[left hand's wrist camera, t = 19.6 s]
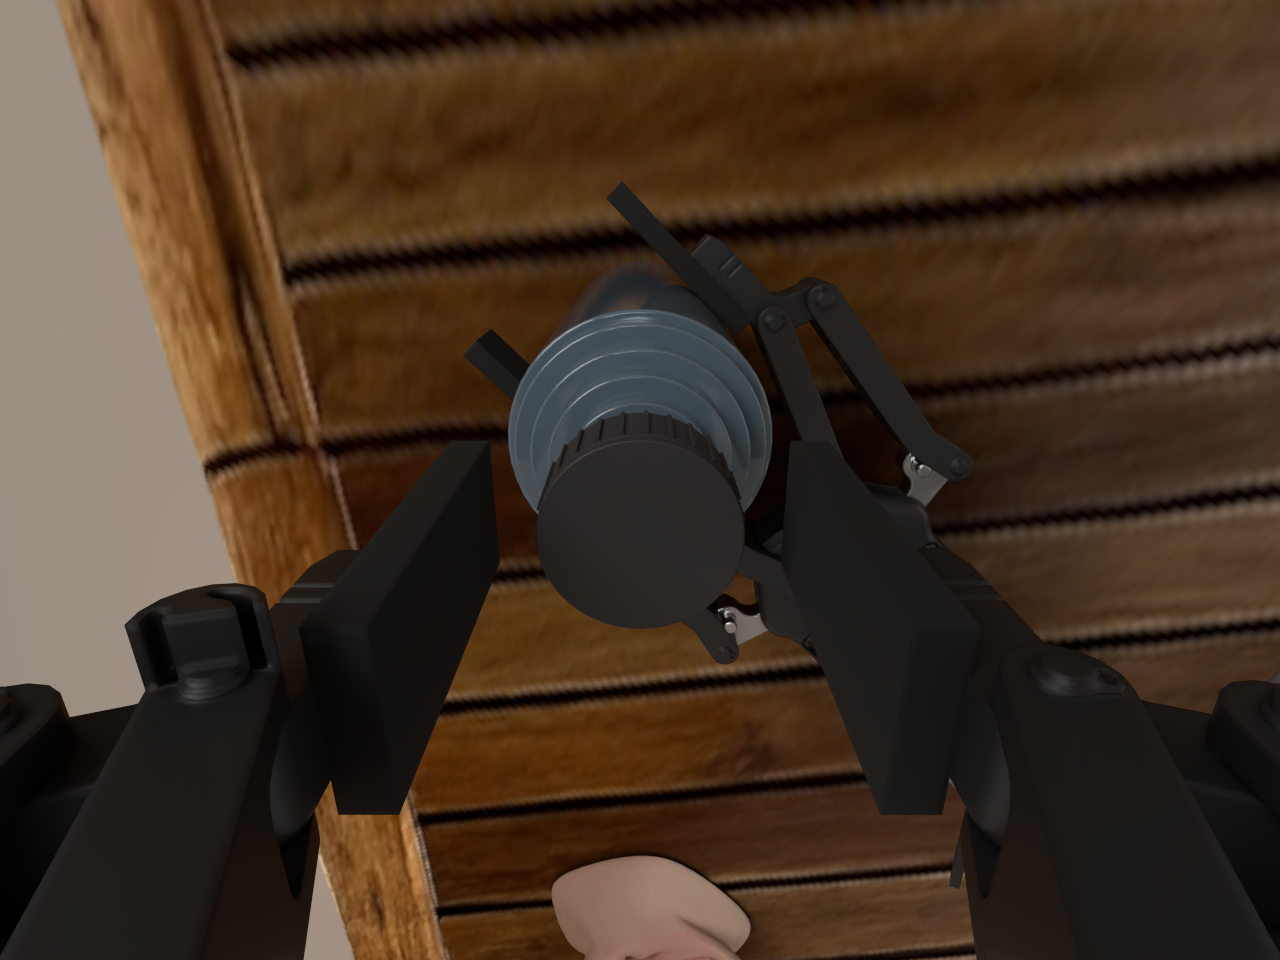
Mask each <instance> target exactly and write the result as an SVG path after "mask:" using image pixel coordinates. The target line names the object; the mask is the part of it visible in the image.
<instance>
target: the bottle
mask: <svg viewBox="0 0 1280 960" xmlns="http://www.w3.org/2000/svg"><path fill="white" fill-rule="evenodd" d="M644 410H648V413H653V414H659V415H664V416H667V414H670V415H671V416H672V418H675V419H677V420H679V421H681V422H684V423H686V424H688V423H691V424H692V425H693V428H694V429H696V430H697V431H699V432H700V433H701V434H702V435H704V436H705V437H706V436H707V435H708V436H709V437H710V438H711V442H712V444H713V445H714V446H715V448H716V449H717V450H718V452H719V453H721V452H723V454H724V456H725V459H726V462H727V465H728V468H729V471H732V472H733V475H734V478H735V481H736V484H737V487H738V490H739V492H740V495H741V498H742V499H740V503H741V506H742V509H743V512H745V511H746V510H747V508H748V507H749V506H750V504H751V503H752V502H753V500H754V498H755V497H756V495H757V493H758V491H759V489H760V488H761V485H762V483H763V480H764V478H765V475H766V473H767V469H768V465H769V462H770V458H771V450H772V442H773V435H772V419H771V413H770V407H769V404H768V401H767V397H766V394H765V391H764V389H763V387H762V385H761V382H760V380H759V378H758V376H757V374H756V373H755V371H754V370H753V368H752V367H751V365H750V364H749V362H748V361H747V359H746V358H745V356H744V355H743V354H742V352H741V351H740V349H739V348H738V347H737V345H736V344H735V342H734V341H733V340H732V338H731V337H730V335H729V334H728V333H727V331H726V330H725V328H724V327H723V326H722V324H721V323H720V321H719V320H718V319H717V317H716V316H715V314H714V313H713V312H712V311H711V310H710V309H709V307H708V306H707V305H706V304H705V303H704V302H703V301H702V300H701V299H700V298H699V297H698V296H697V295H696V294H695V293H694V291H693V290H692V289H691V288H690V287H689V286H688V285H687V284H686V283H685V282H684V281H683V280H682V279H681V278H680V277H679V275H678V274H677V273H676V272H675V271H674V270H673V269H671V268H669V267H667V266H664V265H660V264H657V263H652V262H641V261H637V262H628V263H624V264H620V265H617V266H614V267H612V268H610V269H608V270H606V271H604V272H602V273H601V274H600V275H598V276H597V277H596V278H594V279H593V280H592V281H591V282H590V283H589V284H588V285H587V286H586V288H585V289H584V290H583V291H582V293H581V294H580V296H579V297H578V298H577V300H576V301H575V303H574V304H573V305H572V307H571V308H570V310H569V311H568V312H567V314H566V315H565V317H564V318H563V320H562V321H561V322H560V324H559V325H558V327H557V328H556V329H555V331H554V332H553V334H552V335H551V336H550V338H549V339H548V341H547V342H546V343H545V345H544V346H543V348H542V349H541V350H540V352H539V353H538V355H537V356H536V357H535V359H534V360H533V362H532V363H531V365H530V366H529V368H528V369H527V371H526V373H525V374H524V376H523V378H522V380H521V381H520V384H519V386H518V389H517V391H516V394H515V396H514V399H513V403H512V407H511V411H510V417H509V426H508V444H509V452H510V458H511V463H512V467H513V470H514V473H515V476H516V479H517V481H518V483H519V486H520V488H521V490H522V492H523V494H524V495H525V497H526V499H527V500H528V502H529V503H530V505H531V506H532V508H533V509H534V510H535V511H536V513H537V514H538V513H539V510H537V506H538V503H539V500H540V497H541V494H542V491H543V488H544V485H545V482H546V479H547V476H548V473H549V470H550V468H551V465H552V463H553V461H554V462H556V461H557V459H558V458H559V456H560V454H561V451H562V448H563V445H564V444H565V443H566V444H567V445H568V444H569V443H570V442H571V441H572V440H573V439H574V438H575V437H576V436H577V435H578V432H579V430H580V429H583V430H585V429H587V428H588V427H590V426H591V425H593V424H595V423H597V422H598V419H600V418H603V420H604V419H607V418H610V417H613V416H617V415H620V414H621V412H624V411H625V414H628V413H644Z"/></svg>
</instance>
